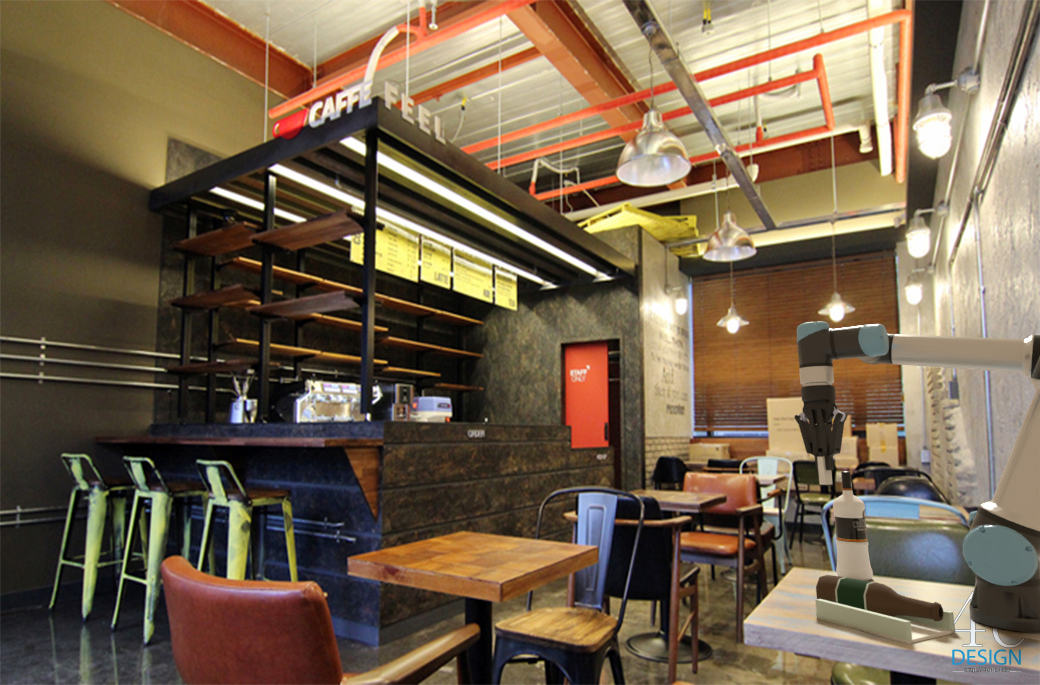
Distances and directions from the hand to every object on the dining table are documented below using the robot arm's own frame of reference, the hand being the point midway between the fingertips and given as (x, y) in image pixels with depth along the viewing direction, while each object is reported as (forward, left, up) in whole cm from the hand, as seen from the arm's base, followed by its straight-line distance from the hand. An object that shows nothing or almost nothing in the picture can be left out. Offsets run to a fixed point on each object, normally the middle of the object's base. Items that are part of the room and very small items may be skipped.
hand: (826, 484), depth 148 cm
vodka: (+21, -37, -29) cm, 51 cm away
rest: (-12, +1, -29) cm, 31 cm away
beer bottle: (+2, +2, -24) cm, 24 cm away
